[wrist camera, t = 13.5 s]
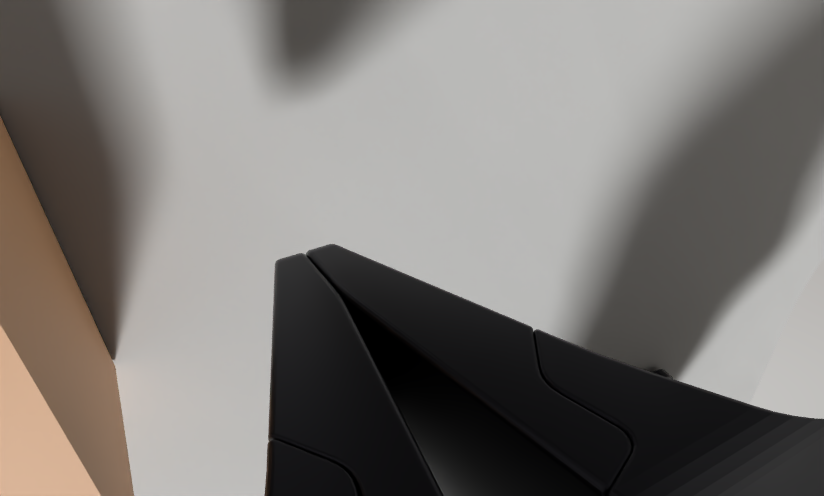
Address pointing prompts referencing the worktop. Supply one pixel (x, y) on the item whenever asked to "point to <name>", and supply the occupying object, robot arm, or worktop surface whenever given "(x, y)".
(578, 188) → the worktop surface
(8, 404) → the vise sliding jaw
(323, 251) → the robot arm
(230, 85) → the worktop surface
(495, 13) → the worktop surface
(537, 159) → the worktop surface
